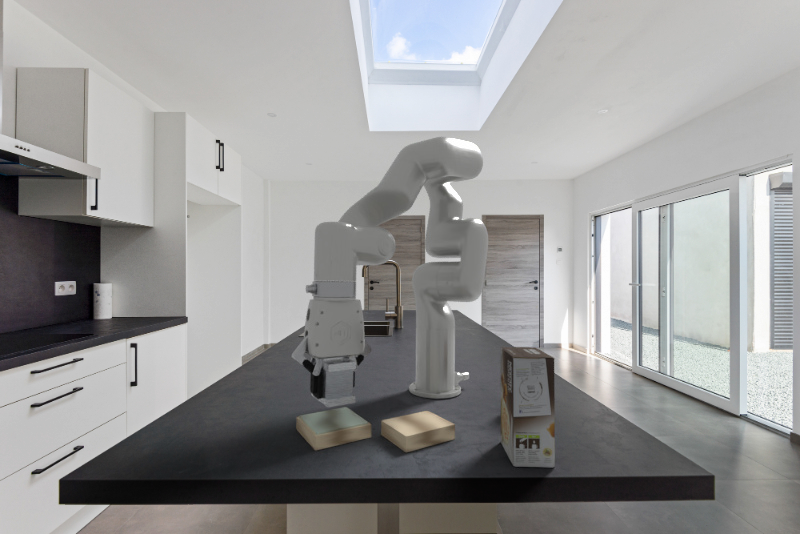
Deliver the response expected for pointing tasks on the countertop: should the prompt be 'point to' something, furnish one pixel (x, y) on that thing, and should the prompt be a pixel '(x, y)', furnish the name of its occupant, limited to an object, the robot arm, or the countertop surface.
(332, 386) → the housing
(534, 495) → the countertop surface
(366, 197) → the robot arm
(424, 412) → the beige piece
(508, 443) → the coffee box
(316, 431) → the stand
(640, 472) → the countertop surface
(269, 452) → the countertop surface
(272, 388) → the countertop surface
